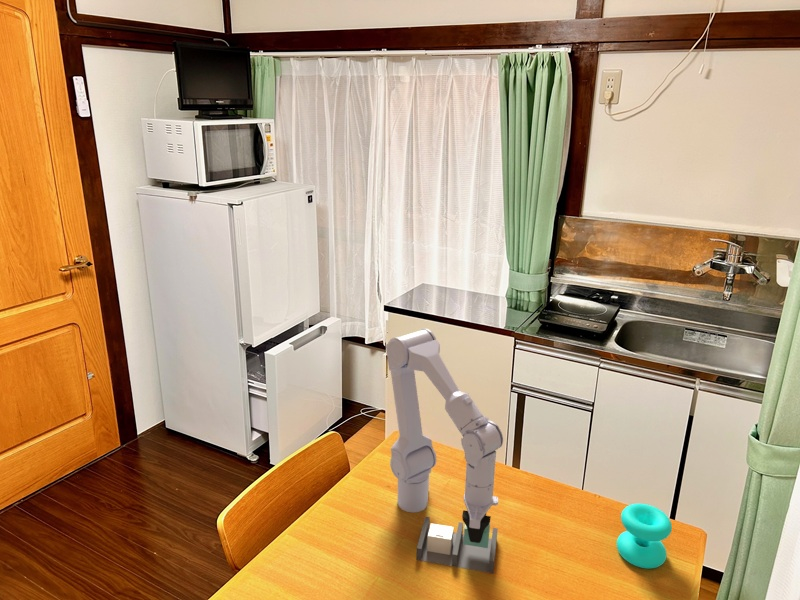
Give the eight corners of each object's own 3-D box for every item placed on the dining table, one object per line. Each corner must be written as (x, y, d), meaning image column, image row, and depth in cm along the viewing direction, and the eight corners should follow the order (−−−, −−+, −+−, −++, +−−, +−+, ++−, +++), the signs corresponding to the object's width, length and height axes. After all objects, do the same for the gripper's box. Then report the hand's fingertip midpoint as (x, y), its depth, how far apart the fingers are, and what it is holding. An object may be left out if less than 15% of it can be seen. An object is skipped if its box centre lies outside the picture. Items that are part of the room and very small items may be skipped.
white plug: (430, 538, 132) (430, 522, 130) (452, 541, 131) (453, 526, 129) (427, 551, 128) (427, 535, 126) (450, 555, 127) (451, 539, 125)
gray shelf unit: (424, 531, 135) (425, 516, 134) (496, 543, 132) (497, 528, 130) (416, 563, 126) (416, 548, 124) (492, 577, 123) (494, 561, 121)
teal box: (465, 531, 129) (466, 515, 127) (489, 535, 128) (490, 519, 126) (463, 544, 125) (464, 528, 124) (487, 548, 124) (488, 531, 123)
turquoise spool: (619, 522, 124) (625, 495, 132) (612, 561, 127) (619, 532, 136) (671, 538, 120) (674, 509, 128) (663, 578, 123) (666, 546, 131)
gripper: (497, 504, 114) (492, 561, 119) (502, 461, 127) (497, 514, 132) (460, 499, 116) (457, 555, 120) (468, 457, 129) (465, 509, 133)
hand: (476, 533), depth 126 cm, fingers closed on teal box, 4 cm apart
